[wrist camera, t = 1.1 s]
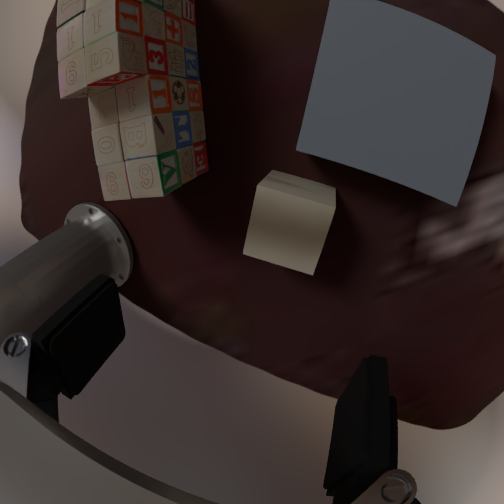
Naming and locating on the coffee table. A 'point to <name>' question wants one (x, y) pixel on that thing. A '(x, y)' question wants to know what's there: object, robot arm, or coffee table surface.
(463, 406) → the coffee table surface
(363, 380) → the robot arm
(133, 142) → the stack of blocks
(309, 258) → the cream block
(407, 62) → the slate base plinth
